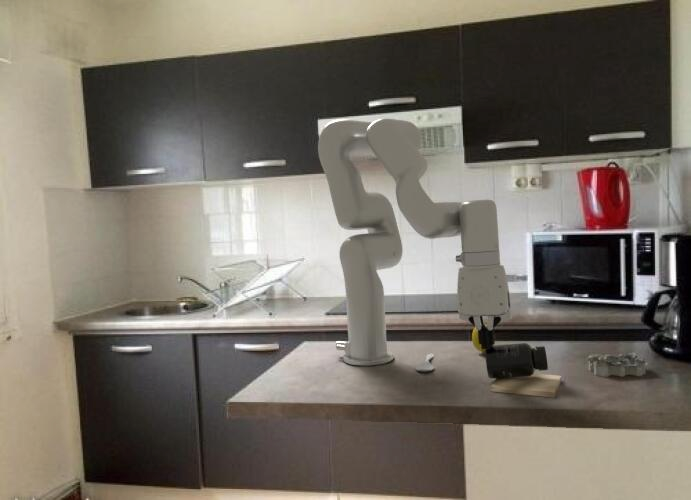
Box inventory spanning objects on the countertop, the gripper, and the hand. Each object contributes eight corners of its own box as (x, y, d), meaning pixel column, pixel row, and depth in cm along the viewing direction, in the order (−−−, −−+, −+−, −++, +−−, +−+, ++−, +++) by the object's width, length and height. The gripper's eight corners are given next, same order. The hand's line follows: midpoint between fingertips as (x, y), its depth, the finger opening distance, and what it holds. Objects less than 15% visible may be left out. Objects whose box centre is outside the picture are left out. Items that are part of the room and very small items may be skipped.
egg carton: (595, 378, 116) (594, 359, 116) (585, 368, 124) (585, 350, 124) (650, 377, 115) (649, 358, 114) (636, 367, 122) (636, 349, 122)
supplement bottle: (488, 383, 114) (550, 379, 111) (483, 351, 113) (545, 346, 110) (488, 373, 120) (547, 368, 117) (484, 342, 120) (542, 337, 117)
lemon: (477, 349, 143) (476, 319, 143) (498, 352, 140) (497, 320, 140) (469, 355, 139) (467, 323, 138) (490, 357, 136) (489, 325, 135)
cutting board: (490, 391, 111) (490, 386, 111) (502, 375, 121) (502, 371, 121) (554, 397, 106) (554, 392, 106) (561, 380, 115) (561, 375, 115)
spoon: (414, 376, 125) (413, 369, 125) (424, 352, 145) (424, 346, 145) (432, 376, 124) (432, 369, 124) (440, 352, 144) (440, 346, 144)
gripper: (440, 263, 115) (446, 350, 116) (514, 260, 108) (520, 353, 109) (451, 259, 121) (457, 342, 122) (521, 256, 114) (527, 344, 115)
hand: (487, 347), depth 115 cm, fingers closed
